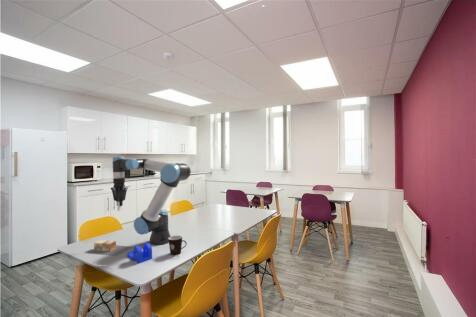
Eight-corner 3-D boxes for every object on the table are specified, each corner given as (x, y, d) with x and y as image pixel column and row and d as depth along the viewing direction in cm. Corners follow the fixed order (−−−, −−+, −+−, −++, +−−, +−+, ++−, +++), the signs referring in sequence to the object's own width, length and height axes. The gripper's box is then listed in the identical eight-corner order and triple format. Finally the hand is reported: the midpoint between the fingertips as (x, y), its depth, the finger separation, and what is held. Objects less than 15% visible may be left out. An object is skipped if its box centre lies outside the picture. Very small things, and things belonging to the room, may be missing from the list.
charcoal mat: (133, 247, 163) (133, 246, 163) (116, 256, 148) (116, 255, 148) (104, 245, 169) (104, 244, 169) (85, 254, 154) (85, 253, 154)
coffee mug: (166, 253, 150) (165, 237, 150) (178, 249, 156) (177, 234, 157) (175, 258, 142) (175, 242, 142) (187, 254, 148) (187, 238, 148)
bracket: (152, 259, 143) (151, 244, 143) (138, 263, 137) (138, 248, 137) (137, 252, 155) (137, 238, 155) (125, 256, 149) (124, 242, 149)
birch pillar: (115, 241, 160) (100, 240, 163) (110, 243, 155) (94, 242, 159) (116, 248, 160) (100, 247, 163) (110, 251, 155) (94, 250, 159)
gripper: (130, 177, 173) (131, 209, 173) (115, 177, 176) (116, 209, 176) (122, 178, 165) (123, 211, 165) (107, 178, 169) (108, 211, 169)
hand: (119, 210), depth 171 cm, fingers closed
